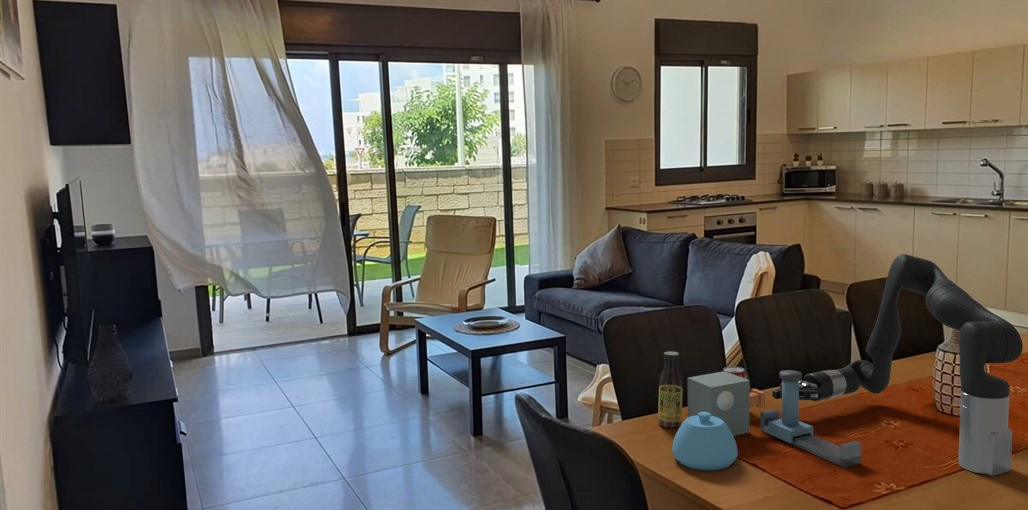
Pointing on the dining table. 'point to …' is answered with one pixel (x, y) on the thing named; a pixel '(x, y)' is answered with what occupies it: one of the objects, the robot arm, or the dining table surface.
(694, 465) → the sugar bowl
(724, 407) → the cabinet
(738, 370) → the soda can
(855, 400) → the dining table surface
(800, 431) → the carriage
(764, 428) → the rail
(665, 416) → the sauce bottle
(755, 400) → the plunger
